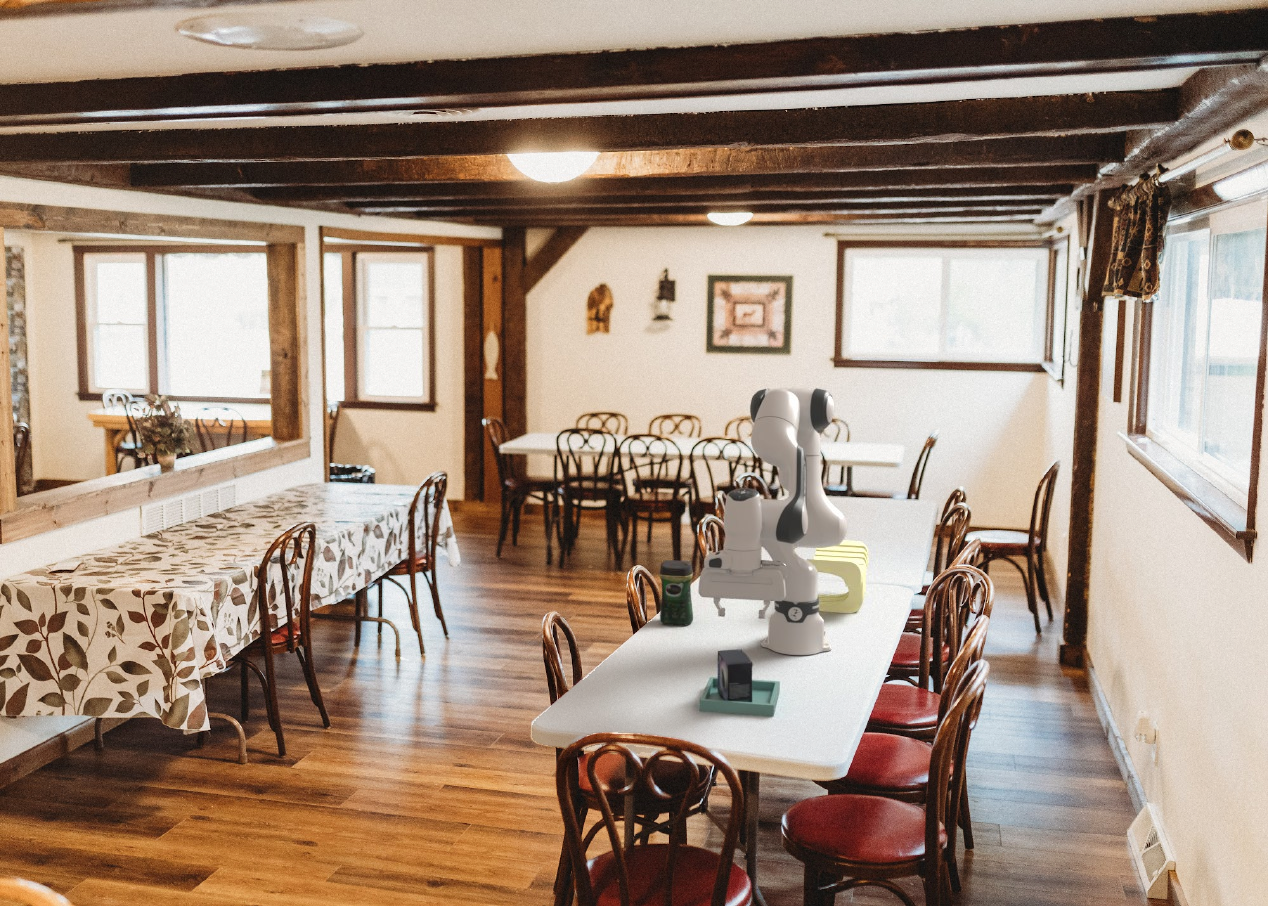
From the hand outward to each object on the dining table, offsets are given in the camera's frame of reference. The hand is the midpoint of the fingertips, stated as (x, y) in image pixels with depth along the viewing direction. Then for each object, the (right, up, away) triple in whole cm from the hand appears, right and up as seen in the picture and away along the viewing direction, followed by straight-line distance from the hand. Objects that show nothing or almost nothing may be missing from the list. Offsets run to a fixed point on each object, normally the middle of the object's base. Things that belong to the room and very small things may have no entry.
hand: (741, 617), depth 273 cm
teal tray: (0, -20, +3) cm, 20 cm away
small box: (-2, -20, +3) cm, 20 cm away
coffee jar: (-13, -12, +69) cm, 71 cm away
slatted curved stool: (+37, -9, +87) cm, 95 cm away
